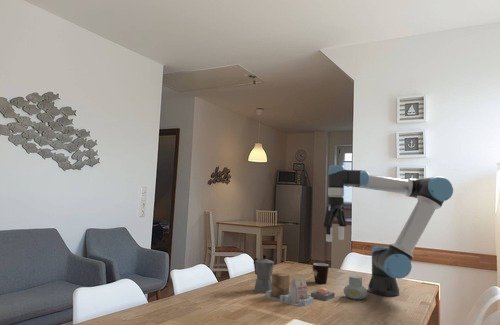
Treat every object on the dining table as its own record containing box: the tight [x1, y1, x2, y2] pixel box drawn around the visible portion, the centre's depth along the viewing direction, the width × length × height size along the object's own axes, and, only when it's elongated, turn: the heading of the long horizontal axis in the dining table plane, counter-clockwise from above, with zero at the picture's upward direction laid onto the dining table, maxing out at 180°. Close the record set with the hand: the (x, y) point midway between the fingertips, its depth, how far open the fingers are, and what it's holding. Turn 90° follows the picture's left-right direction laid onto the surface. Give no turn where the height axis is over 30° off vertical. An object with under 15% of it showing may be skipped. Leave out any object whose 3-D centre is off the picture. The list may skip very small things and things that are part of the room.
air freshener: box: [343, 275, 368, 301], centre depth 175 cm, size 11×8×10 cm
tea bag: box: [289, 277, 308, 303], centre depth 161 cm, size 4×7×10 cm, turn 126°
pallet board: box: [263, 290, 317, 308], centre depth 164 cm, size 21×12×3 cm, turn 52°
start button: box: [318, 287, 328, 294], centre depth 170 cm, size 4×4×4 cm
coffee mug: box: [312, 262, 330, 285], centre depth 206 cm, size 12×9×10 cm
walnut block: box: [271, 272, 290, 298], centre depth 167 cm, size 7×4×10 cm, turn 52°
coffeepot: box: [253, 254, 275, 294], centre depth 179 cm, size 15×9×18 cm, turn 33°
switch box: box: [310, 289, 336, 301], centre depth 170 cm, size 8×8×3 cm
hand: (335, 240), depth 177 cm, fingers open, 13 cm apart
